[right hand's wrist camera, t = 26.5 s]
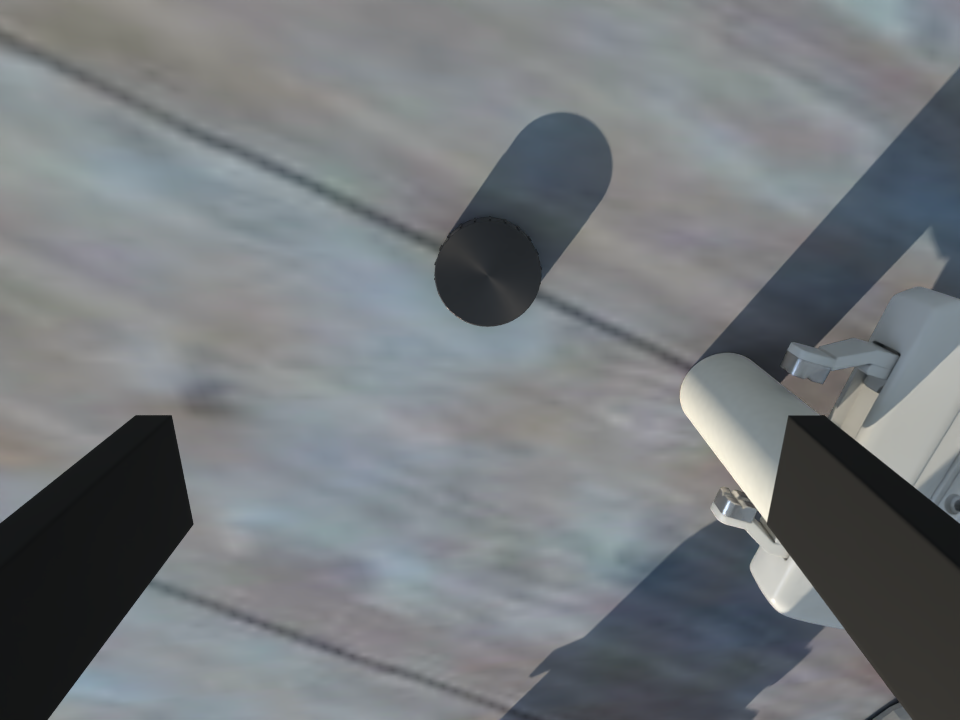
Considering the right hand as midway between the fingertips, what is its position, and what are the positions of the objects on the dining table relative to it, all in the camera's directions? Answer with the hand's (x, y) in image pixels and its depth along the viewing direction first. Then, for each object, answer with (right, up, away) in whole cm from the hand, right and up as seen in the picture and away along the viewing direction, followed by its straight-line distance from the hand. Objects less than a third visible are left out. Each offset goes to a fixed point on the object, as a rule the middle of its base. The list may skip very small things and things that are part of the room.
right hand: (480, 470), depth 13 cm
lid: (0, +7, +22) cm, 24 cm away
